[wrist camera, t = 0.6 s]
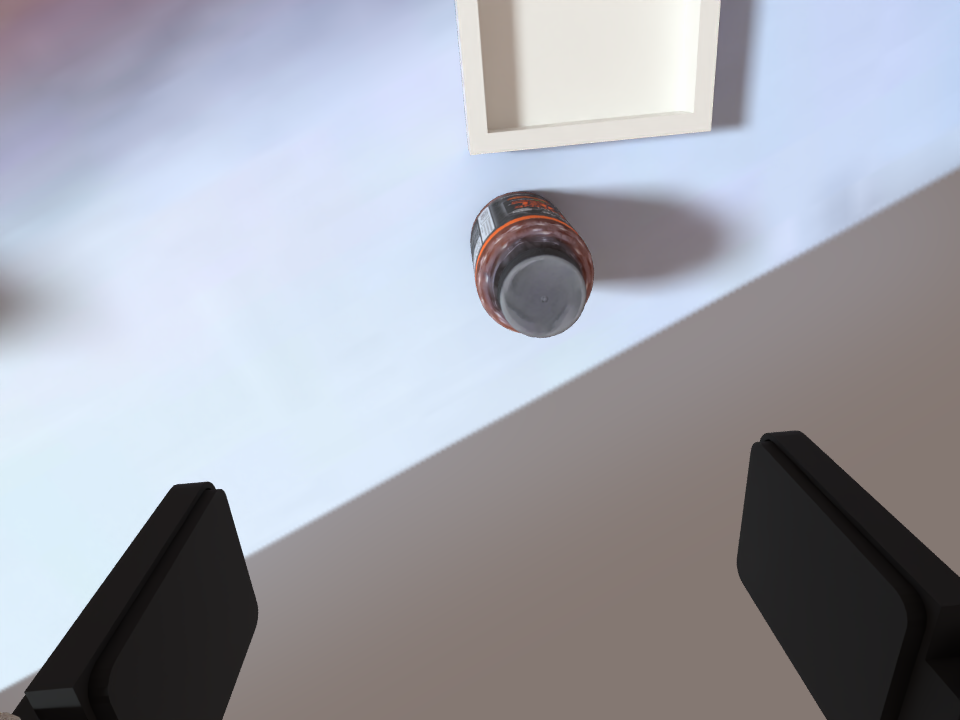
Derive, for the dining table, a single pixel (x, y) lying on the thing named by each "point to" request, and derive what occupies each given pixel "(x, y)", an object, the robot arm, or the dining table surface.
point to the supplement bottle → (530, 265)
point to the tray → (584, 70)
